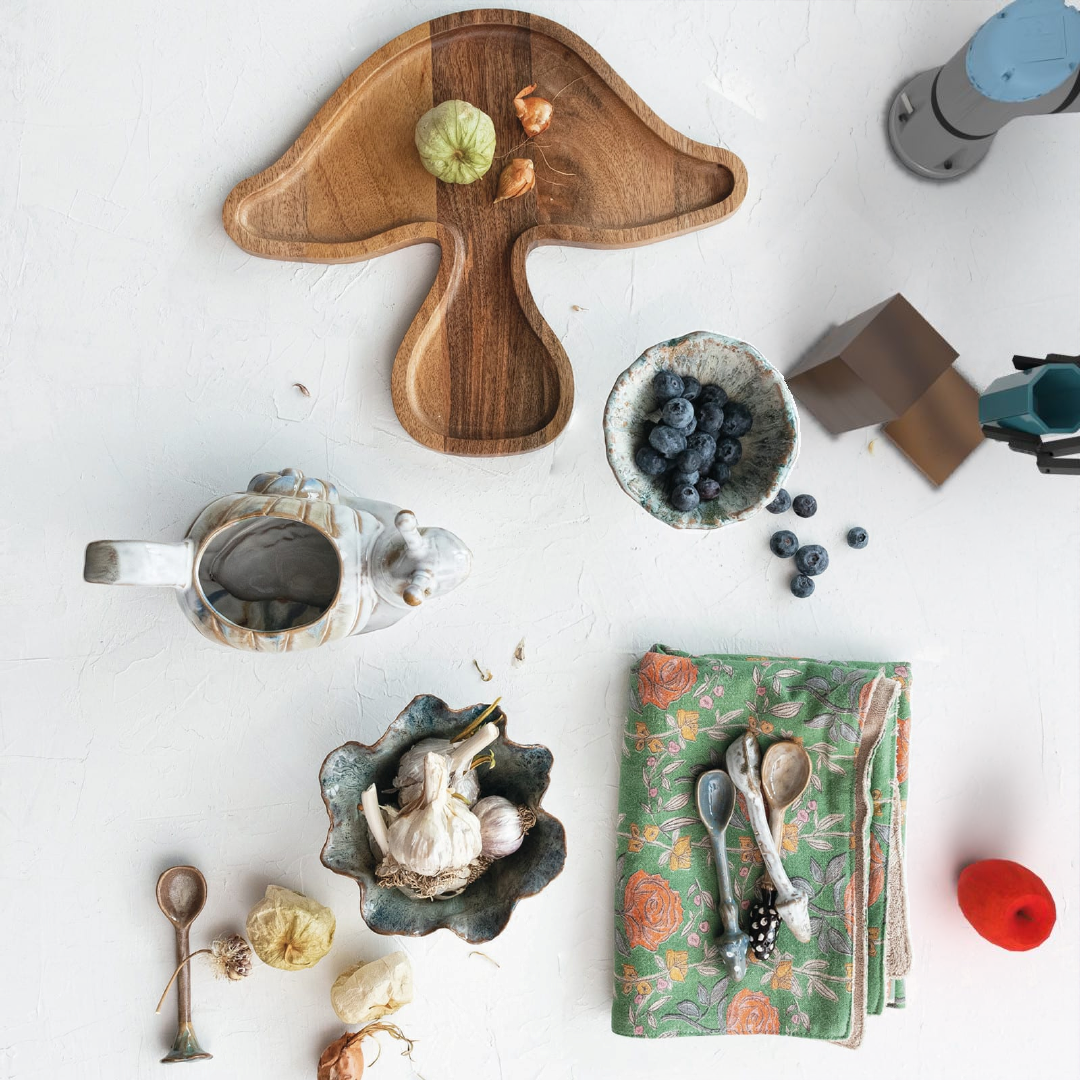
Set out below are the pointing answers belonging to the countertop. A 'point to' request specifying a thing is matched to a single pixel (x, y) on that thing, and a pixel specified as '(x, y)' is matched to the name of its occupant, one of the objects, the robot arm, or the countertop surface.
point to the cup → (1034, 401)
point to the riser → (871, 367)
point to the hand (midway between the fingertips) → (999, 396)
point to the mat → (939, 427)
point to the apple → (1006, 904)
